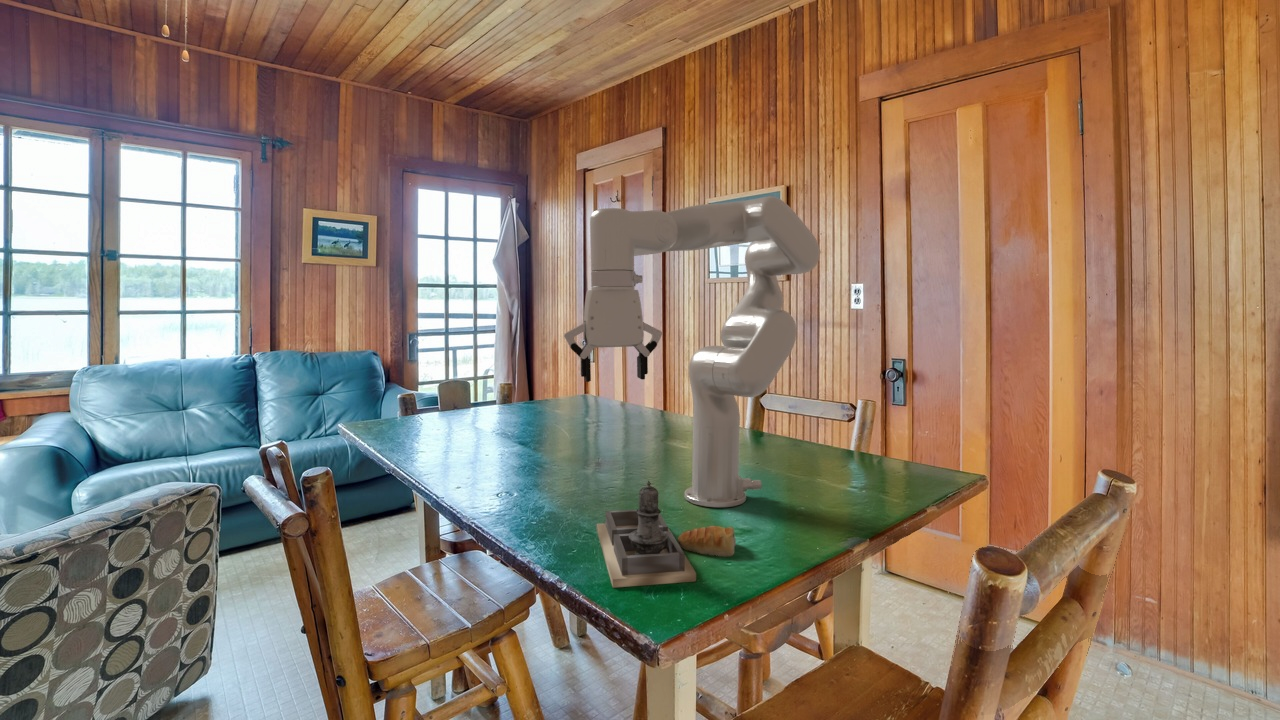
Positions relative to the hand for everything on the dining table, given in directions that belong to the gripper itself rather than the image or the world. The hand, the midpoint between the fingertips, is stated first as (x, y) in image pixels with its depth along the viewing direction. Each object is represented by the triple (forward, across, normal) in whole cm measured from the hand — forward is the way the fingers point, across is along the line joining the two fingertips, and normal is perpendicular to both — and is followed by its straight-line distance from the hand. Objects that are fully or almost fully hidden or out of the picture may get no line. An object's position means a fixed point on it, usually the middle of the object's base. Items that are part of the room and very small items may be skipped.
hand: (614, 379), depth 104 cm
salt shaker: (+25, -1, +19) cm, 31 cm away
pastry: (+27, -13, +14) cm, 33 cm away
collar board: (+26, -1, +13) cm, 29 cm away
